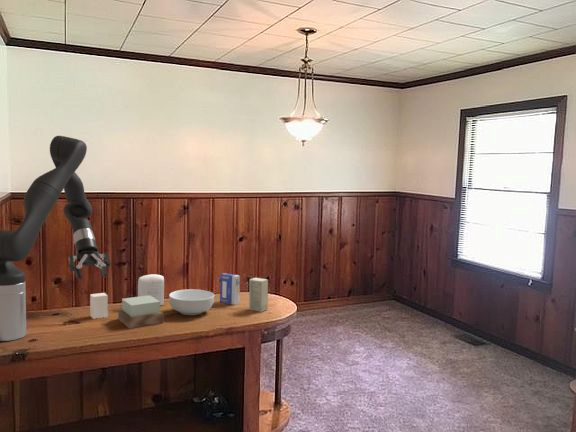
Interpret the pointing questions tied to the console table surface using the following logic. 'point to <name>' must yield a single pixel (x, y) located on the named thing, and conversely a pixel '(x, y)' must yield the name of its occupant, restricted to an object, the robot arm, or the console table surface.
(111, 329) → the console table surface
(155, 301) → the tower top
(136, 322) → the tower base
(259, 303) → the skincare box
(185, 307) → the cereal bowl
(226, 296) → the walkman
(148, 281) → the photo printer
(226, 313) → the console table surface
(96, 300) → the cream block
